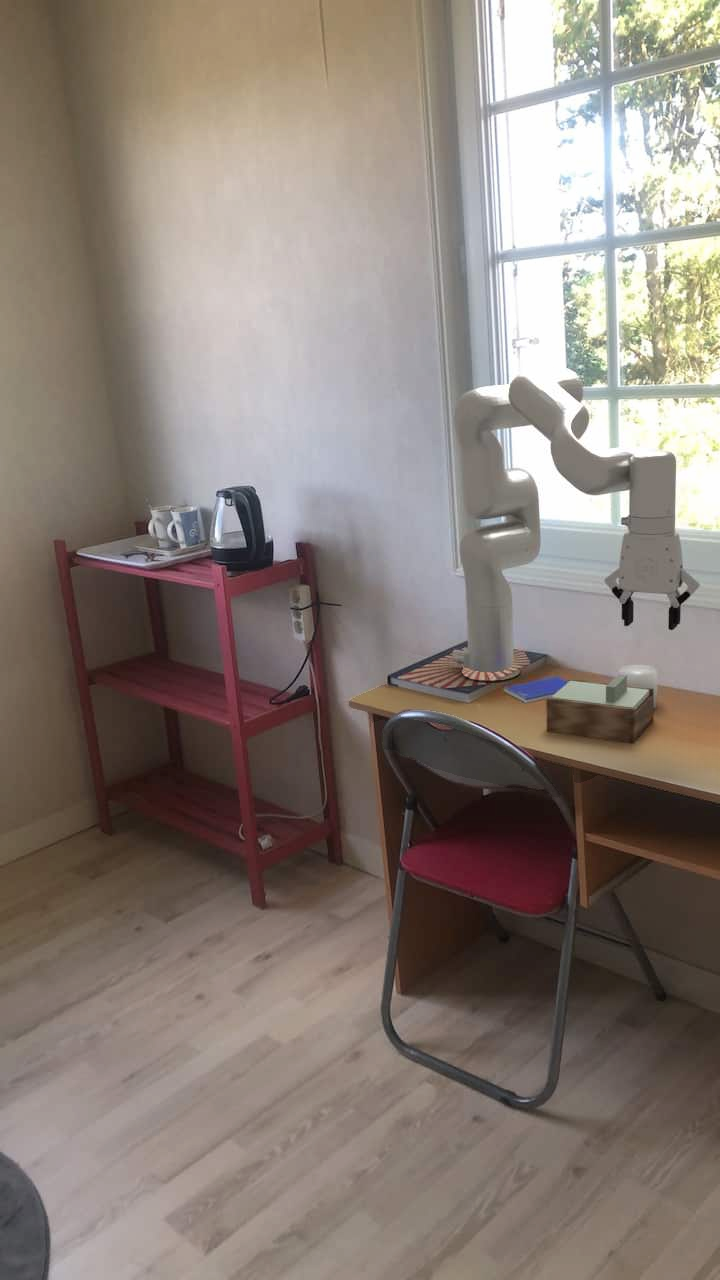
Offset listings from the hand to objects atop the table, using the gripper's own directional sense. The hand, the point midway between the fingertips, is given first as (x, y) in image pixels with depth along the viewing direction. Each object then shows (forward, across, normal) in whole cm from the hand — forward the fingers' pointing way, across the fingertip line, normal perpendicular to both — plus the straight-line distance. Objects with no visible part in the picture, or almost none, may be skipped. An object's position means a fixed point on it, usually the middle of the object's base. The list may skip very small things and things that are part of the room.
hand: (650, 625), depth 189 cm
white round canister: (+20, -6, +13) cm, 24 cm away
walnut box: (+20, -9, 0) cm, 22 cm away
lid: (+15, -9, 0) cm, 17 cm away
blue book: (+21, -26, +14) cm, 36 cm away
